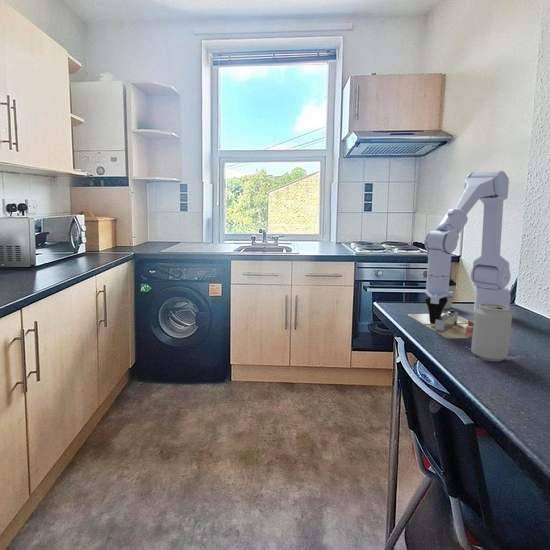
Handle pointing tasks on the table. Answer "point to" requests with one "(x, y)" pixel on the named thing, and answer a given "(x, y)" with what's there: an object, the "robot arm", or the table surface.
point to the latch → (446, 321)
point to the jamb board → (456, 331)
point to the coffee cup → (450, 297)
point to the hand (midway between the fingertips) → (434, 323)
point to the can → (491, 332)
